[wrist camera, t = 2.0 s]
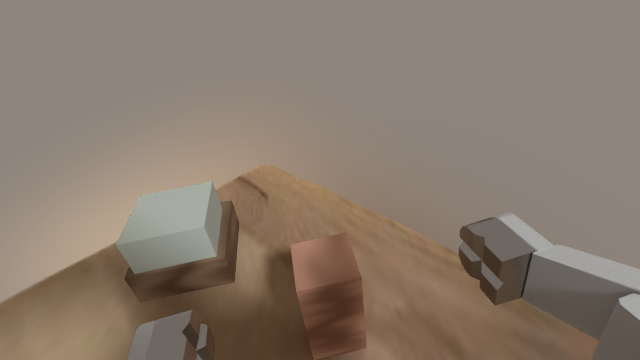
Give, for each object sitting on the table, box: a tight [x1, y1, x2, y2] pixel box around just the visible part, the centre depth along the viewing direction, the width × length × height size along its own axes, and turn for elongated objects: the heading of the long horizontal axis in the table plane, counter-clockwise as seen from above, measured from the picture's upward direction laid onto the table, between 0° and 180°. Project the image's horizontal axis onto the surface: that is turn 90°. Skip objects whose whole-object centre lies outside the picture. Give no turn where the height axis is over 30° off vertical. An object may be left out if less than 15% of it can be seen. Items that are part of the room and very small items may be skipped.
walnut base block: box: [124, 201, 239, 302], centre depth 41 cm, size 11×11×4 cm
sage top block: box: [116, 182, 222, 274], centre depth 38 cm, size 9×9×4 cm
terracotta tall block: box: [290, 233, 366, 360], centre depth 29 cm, size 5×5×10 cm
